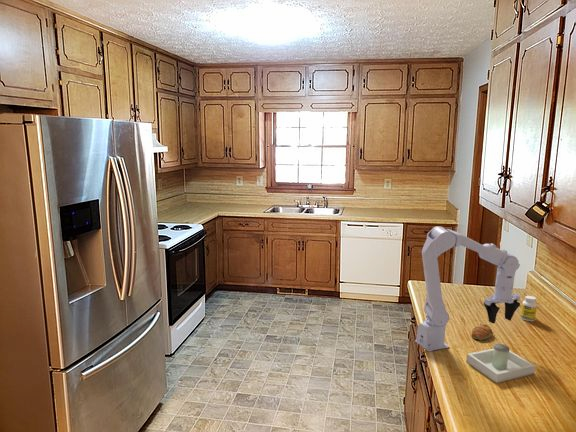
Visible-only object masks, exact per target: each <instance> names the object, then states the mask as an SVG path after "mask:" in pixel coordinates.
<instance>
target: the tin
mask: <svg viewBox="0 0 576 432" xmlns="http://www.w3.org/2000/svg"><path fill="white" fill-rule="evenodd" d="M493 349H494V352H493V361H492V366H493V367H494V368H496V369H499V370H505V369H507V361H508V354H509V350H510V347H509V346H507V345H506V344H502V343H495V344H493Z"/></svg>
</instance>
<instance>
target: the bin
mask: <svg viewBox="0 0 576 432" xmlns="http://www.w3.org/2000/svg"><path fill="white" fill-rule="evenodd" d="M493 352H494V348H491V349H484V350H478V351H474V352H469V353H468V352H467V353H466V359H465V361H466V363H467V364H469V365H470V366H471V367H473V368H474V369H476V370H477V371H479V372H480V373H482V374H483V375H484V376H486V378H489V379H490V380H492V381H493V382H494V383H495V384H497V383H501V382H505V381H506V382H507V381H511V380H515V379H519V378H524V377H527V376H532V375H535V372H536V365H535V364H533V363H532V362H530V361H528V360H527V359H525V358H523V357H521V356H520V355H518V354H516V353H514V352H513V351H511V350H510V349H509V354H508V361H507V369H505V370H499V369H496V368H494V367H493V366H492V361H493Z"/></svg>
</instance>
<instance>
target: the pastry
mask: <svg viewBox="0 0 576 432" xmlns="http://www.w3.org/2000/svg"><path fill="white" fill-rule="evenodd" d="M471 331H472V332H471V337H472V339H475V340H477V341H484V340H489V339H490V338H491V337H492V336H493V335H494V332H493V330H492V328H491V326H489V325H488V324H486V323H485V324H483V323H482V324H481V323H479V324H478V325H477V326H475V327H473V329H472V330H471Z"/></svg>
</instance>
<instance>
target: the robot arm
mask: <svg viewBox="0 0 576 432" xmlns="http://www.w3.org/2000/svg"><path fill="white" fill-rule="evenodd" d="M460 246H462V247H464V248H466V249H469V250H471V251H472V252H473V251H474V252H476V253H478V257H479V259H482V260H484V261H486V262H488V263H490V264H492V265H495V266H497V268H496V276H495V284H494V293H493V295H491V296H489V297H487V298H486V297H485V298H484V301H483V306H484V307H485V309H486V313H487V318H488V322H489V323H491V324H495V323H496V320H497V315H498V312H499V310H500V309H501V307H499V306H497V304H502V303H504V319H505V320H507V321H512V318H513V316H514V314H515V313H516V311H517V309H519V307H520V306H521V302H520V300H521V295H518V294H516V293H514V292H513V290H514V283H515V276H516V272H517V270H518V269H519V268H520V265H521V264H520V263H519V259H518V258H517V257H516V256H515V255H513V254H511V253H509V252H508V251H507V250H505V249H500V248H498V247H497V245H496V244H494V243H484V244H481V243H479V242H478V241H475V240H473V239H472V238H470V237H467V236H466V235H465V234H462V233H460V232H457V231H455V230H453V229H449V228H445V227H443V226H442V225H441V226H440V225H439V226H433V227H432V229H431V230H430V231H428V233H427V234H426V240H425V242H424V243H423V247H422V250H421V258H422V259H421V260H422V267H423V273H424V283H425V291H426V297H425V304H424V306H423V307H424V308H423V311H424V313H425V314H426V317H425V320H424V321H423V322H421V323H419V324H418V325H417V330H416V339H415V340H414V342H415V343H417V344H418V345H419V346H420V347H422V348H423V349H424V350H425V351H427V352H431V351H438V350H443V349H448V348H450V345H449V344H447V343H446V342H445V338H446V327H447V324H448V323H449V321H450V314H449V313H448V311H447V309H446V305H445V302H444V299H443V293H442V285H441V278H440V269H439V261H438V257H440V255H442V254H443V253H446V252H447V251H448V250H451V249H452V248H453V247H455V248H458V247H460ZM513 293H514V294H513Z"/></svg>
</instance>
